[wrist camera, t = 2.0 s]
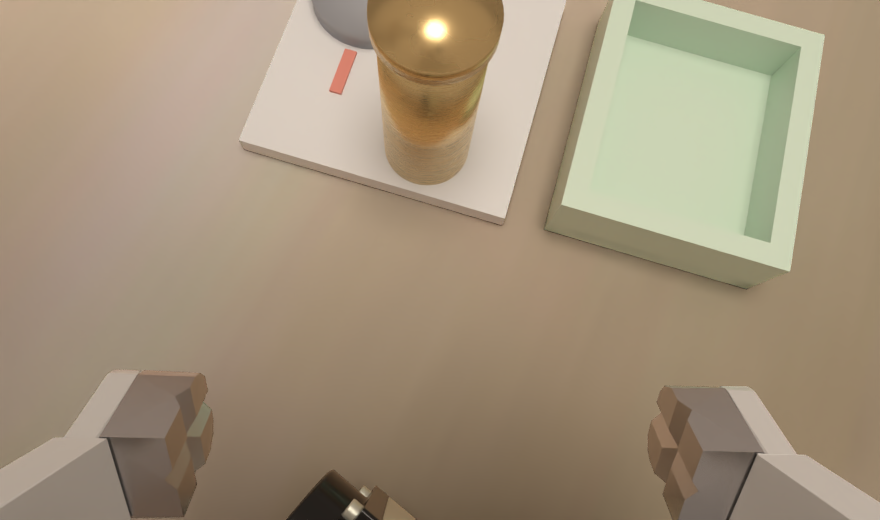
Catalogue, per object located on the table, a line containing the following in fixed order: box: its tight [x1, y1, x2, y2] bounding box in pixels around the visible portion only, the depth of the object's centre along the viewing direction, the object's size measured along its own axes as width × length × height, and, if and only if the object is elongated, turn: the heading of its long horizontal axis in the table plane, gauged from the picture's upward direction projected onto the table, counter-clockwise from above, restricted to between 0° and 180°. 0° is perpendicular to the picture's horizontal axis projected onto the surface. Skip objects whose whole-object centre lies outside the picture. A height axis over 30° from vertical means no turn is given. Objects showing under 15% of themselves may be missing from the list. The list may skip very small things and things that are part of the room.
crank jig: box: [239, 0, 566, 225], centre depth 28 cm, size 13×12×7 cm
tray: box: [544, 0, 825, 289], centre depth 30 cm, size 10×12×4 cm
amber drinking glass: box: [367, 0, 504, 185], centre depth 25 cm, size 4×4×10 cm
